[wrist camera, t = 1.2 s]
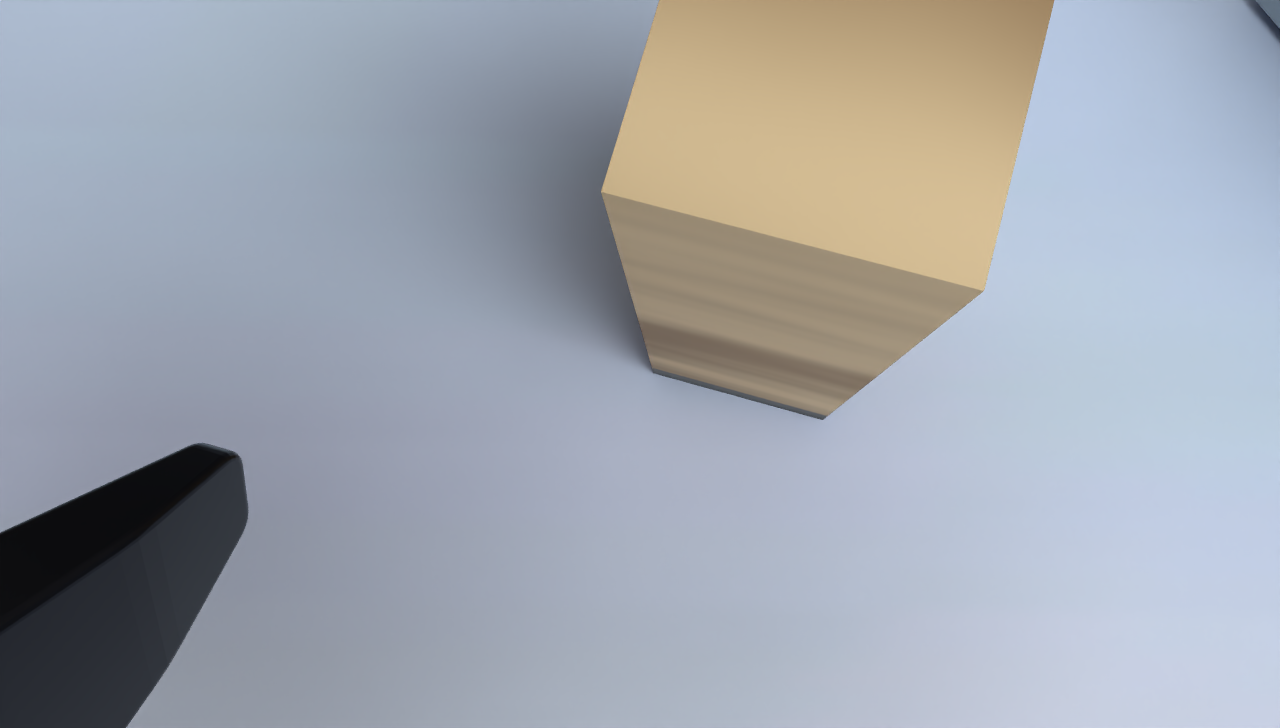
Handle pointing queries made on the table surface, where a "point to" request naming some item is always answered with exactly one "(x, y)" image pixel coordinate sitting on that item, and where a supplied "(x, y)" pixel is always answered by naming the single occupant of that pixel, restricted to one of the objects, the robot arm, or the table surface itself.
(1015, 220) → the table surface
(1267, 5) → the door
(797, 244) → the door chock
